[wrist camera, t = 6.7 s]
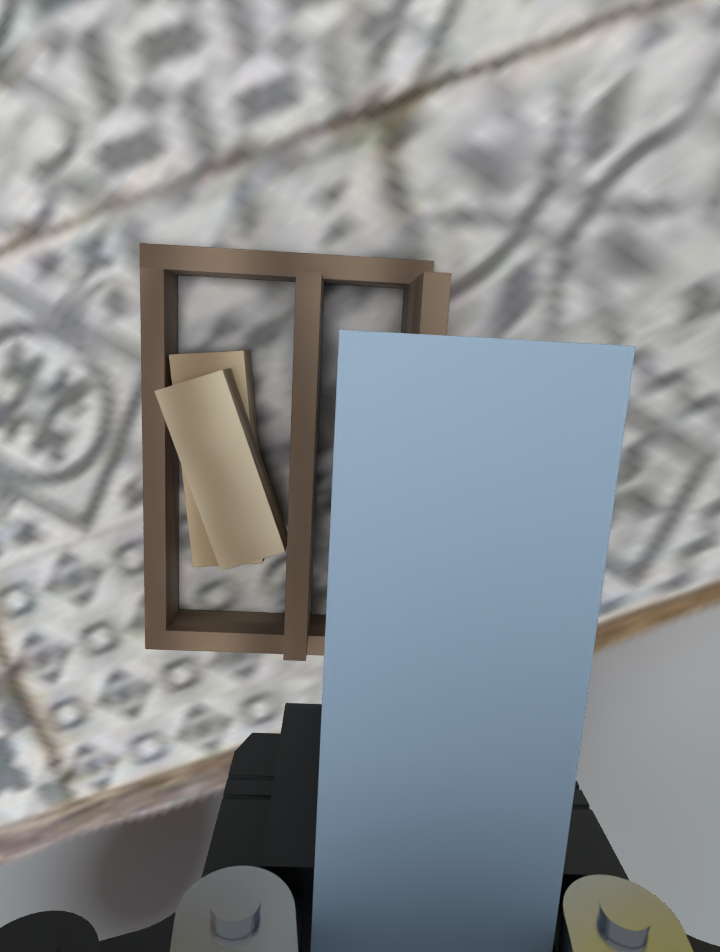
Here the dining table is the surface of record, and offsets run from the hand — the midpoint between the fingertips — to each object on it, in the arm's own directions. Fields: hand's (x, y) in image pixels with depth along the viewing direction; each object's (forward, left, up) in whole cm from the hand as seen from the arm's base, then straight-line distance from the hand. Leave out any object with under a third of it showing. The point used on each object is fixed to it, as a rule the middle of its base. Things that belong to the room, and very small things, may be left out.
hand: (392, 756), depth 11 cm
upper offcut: (+7, 0, -26) cm, 27 cm away
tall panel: (0, 0, -12) cm, 12 cm away
